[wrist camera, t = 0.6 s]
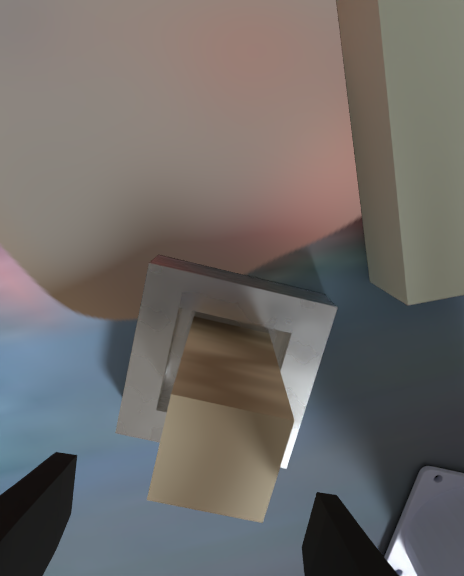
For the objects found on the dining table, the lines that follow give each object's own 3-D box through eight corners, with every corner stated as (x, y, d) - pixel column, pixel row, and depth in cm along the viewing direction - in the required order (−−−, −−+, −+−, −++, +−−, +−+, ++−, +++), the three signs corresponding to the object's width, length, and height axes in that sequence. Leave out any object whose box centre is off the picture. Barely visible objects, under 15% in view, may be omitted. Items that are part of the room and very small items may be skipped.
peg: (269, 333, 20) (294, 420, 12) (250, 401, 21) (262, 523, 13) (193, 316, 20) (170, 394, 12) (177, 385, 21) (146, 500, 13)
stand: (325, 294, 21) (337, 307, 18) (280, 439, 23) (286, 468, 20) (158, 254, 20) (148, 262, 18) (127, 406, 22) (115, 433, 20)
